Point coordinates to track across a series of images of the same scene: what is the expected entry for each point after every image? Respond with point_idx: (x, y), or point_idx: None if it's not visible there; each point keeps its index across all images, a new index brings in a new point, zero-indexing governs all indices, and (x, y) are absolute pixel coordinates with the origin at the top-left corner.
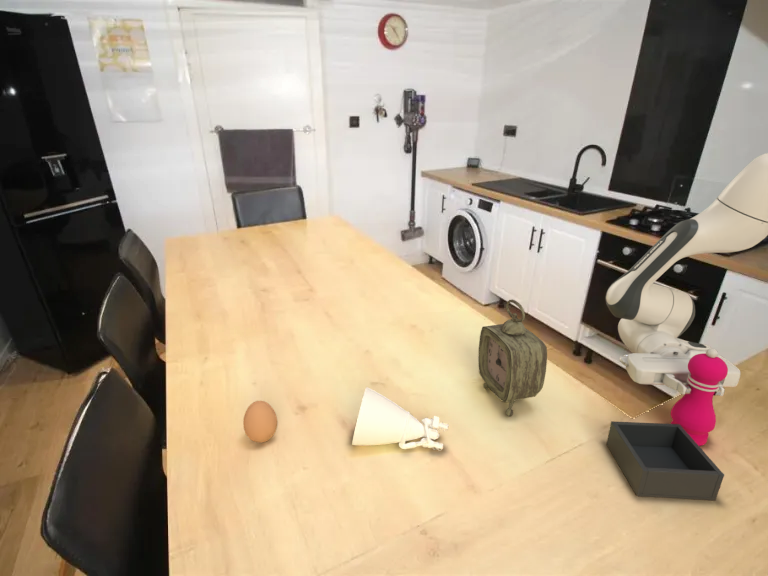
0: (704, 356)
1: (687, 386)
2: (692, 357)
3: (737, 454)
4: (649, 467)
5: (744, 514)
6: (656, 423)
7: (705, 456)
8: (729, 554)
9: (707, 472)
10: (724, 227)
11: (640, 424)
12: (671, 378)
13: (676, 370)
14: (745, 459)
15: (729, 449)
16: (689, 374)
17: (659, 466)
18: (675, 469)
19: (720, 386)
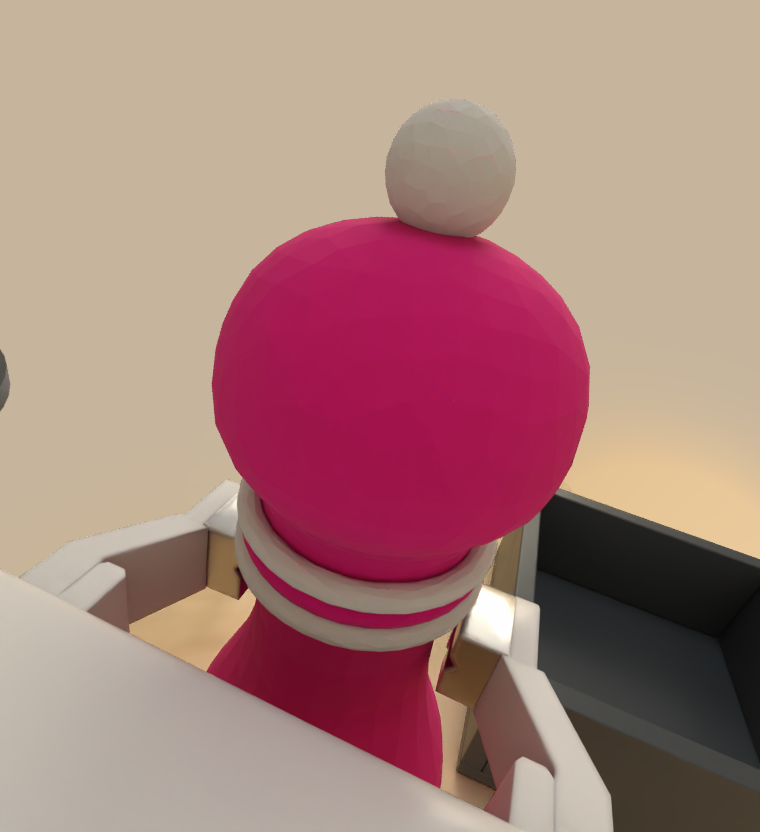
0: (506, 254)
1: (495, 595)
2: (552, 380)
3: (217, 626)
4: (650, 697)
5: None
6: (642, 739)
7: (533, 526)
8: (565, 490)
9: (573, 497)
10: None
11: (751, 770)
12: (578, 754)
13: (456, 807)
14: (223, 600)
15: (210, 657)
16: (451, 581)
17: (606, 687)
18: (671, 534)
19: (224, 495)
